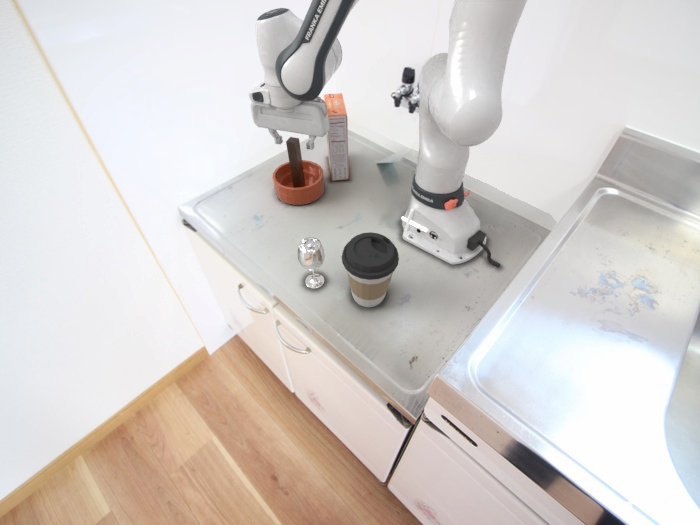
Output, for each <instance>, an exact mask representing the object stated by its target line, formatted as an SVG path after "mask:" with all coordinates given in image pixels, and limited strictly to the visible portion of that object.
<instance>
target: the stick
mask: <svg viewBox="0 0 700 525" xmlns="http://www.w3.org/2000/svg"><path fill="white" fill-rule="evenodd" d="M285 144H286V150H287V156H288V162H289V163H290V169H291V175H292V181H293V187H294V188H299V187H305V179H304V172H303V164H302V160H303V156H302V150H301V142H300V138H299V137H293V136H289V138H287V140H286V141H285Z"/></svg>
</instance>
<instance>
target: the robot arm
mask: <svg viewBox="0 0 700 525" xmlns="http://www.w3.org/2000/svg"><path fill="white" fill-rule="evenodd" d="M358 2H360V0H311V2H310V5H309V8H308V9H307V11H306V15H305V16H304V18H303V19H301V18H299V17H298V16H297V15H296V14H295V13H294V12H293V10H291V9H290V8H286V7H279V8H274V9H270V10H269V11H266V12H264V13H262V14H261V15H259V16H258V18H257V19H256V21H255V39H256V45H257V51H258V52H257V53H258V56H259V61H260V65H261V66H262V69H263V73H264V76H263V82H261V83H260V84H258V85H256V86H255V87H254V88H252V89H251V90H250V91H249V92H248V97H249V100H250V101H251V102H250V111H251V116H252V120H253V123H254V125H256V127H257V128H262V129H267V130H268V133H269V134H270V136H271V137H272V138H273V140H274V144H276V145H282V144H283V142H284V139H283V135H280V134H279V132H278V131H280V132H287V133H294V134H300V135H306V136H308V139H310V140H307V142H306V143H305V146H306V150H311V151H313V150H314V149H315V141H316V139H317V137H318V138H323V137H325V136H327V135H326V134H327V132H328V131H329V128H330V126H329V120H328V115H327V104H326V102H325V101H324V98H323V99H322V98H321V96H320V95H321V92H322V91H323V90H324V87H325V86H326V85H327V83H328V82H329V81H330V80H331V78H332V77H333V76H334V75H335V73H336V72H337V70H338V69H339V67H340V66H341V65H342V60H343V50H342V46H341V43H340V40H339V39H338V36H339V35H340V32H341V30H342V29H343V26H344V25H345V22H346V21H347V19H348V17H349V15H350V13H351V12H352V10H353V9H354V7H356V5H357V4H358ZM527 2H528V0H454V3H453V6H452V9H451V12H450V16H449V19H448V20H449V21H448V34H449V36H448V49H447V52H440V53H436V54H434V55H433V56H431V57H430V58H428V60H426V61H425V63H424V64H423V65H422V67H421V69H420V71H419V74H418V81H417V82H418V83H417V84H418V92H419V105H418V106H419V107H418V135H419V136H418V137H419V138H418V153H417V154H418V155H417V161H416V168H415V173H414V175H413V177H412V182H411V188H410V189H411V191H410V192H411V195H410V199H409V203H408V205H407V209H406V211H405V213H404V214H403V216H401V225H402V230H403V232H402V236H401V237H402V239H403V240H404V241H406V242H407V243H409V244H411V245H413V246H415V247H417V248H419V249H421V250H423V251H425V252H426V253H428V254H430V255H432V256H434V257H435V258H437V259H439V260H442V261H443V262H445V263H448V264H450V265H460V264H464V263H467V262H469V261H470V260H472V259H473V258H475V257H477V256H478V255H479V254H480V253H481V252H482V251H483V250H484V251H485V253H486V259H487V261H488V262H489V263H490V264H492V265H493V266H496V267H497V268H499V267H500V266H501V263H499V262H497V261H495V260H493V259H492V252H491V250H490V249H489V247H487V245H486V244H487V233H485V232H484V231H482V230H481V221H480V218H479V217H478V216H477V214H476V213H475V209H474V208H473V207H472V206H471V205H470V204H469V203H468V201H467V200H466V199H465V198H467V197H468V196H469V195H470V192H471V190H469V189H468V190H467V191H465V186H464V177H465V172H466V169H467V165H468V162H469V158H470V148H471V147H476V146H478V145H479V146H480V145H481V144H483V143H484V142H486V141H488V140H489V139H490V138H491V137H493V135H494V134H495V133H496V132H497V130H498V129H499V127H500V125H501V122H502V119H503V112H504V111H503V104H502V103H503V102H502V93H503V92H502V91H503V84H504V77H505V73H506V67H507V63H508V57H509V53H510V49H511V45H512V41H513V39H514V35H515V32H516V29H517V27H518V25H519V22H520V19H521V17H522V14H523V12H524V10H525V8H526V5H527Z"/></svg>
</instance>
